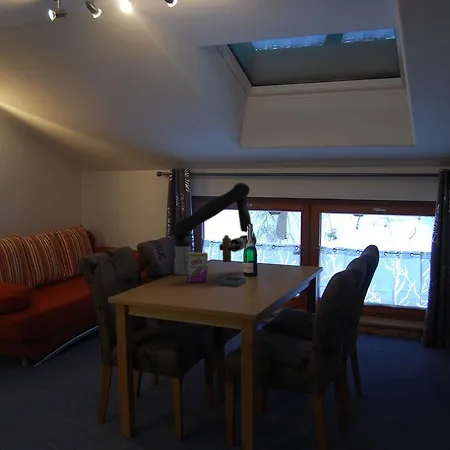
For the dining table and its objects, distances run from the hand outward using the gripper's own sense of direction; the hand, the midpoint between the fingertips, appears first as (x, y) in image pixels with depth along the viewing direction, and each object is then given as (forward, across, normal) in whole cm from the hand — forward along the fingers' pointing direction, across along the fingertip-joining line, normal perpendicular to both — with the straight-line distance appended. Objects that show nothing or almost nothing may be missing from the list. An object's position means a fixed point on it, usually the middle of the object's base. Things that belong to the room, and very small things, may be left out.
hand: (224, 248), depth 290 cm
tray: (+3, +6, +19) cm, 20 cm away
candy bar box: (+5, -15, +19) cm, 25 cm away
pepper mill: (-3, 0, +8) cm, 8 cm away
